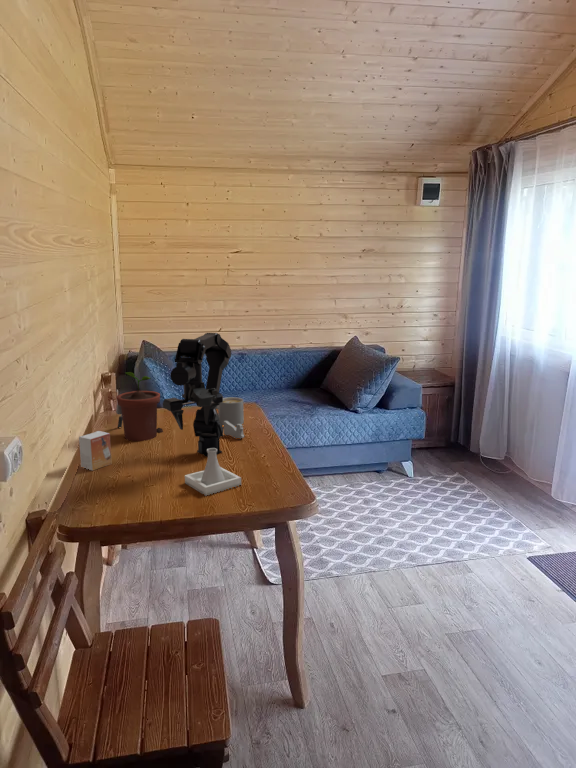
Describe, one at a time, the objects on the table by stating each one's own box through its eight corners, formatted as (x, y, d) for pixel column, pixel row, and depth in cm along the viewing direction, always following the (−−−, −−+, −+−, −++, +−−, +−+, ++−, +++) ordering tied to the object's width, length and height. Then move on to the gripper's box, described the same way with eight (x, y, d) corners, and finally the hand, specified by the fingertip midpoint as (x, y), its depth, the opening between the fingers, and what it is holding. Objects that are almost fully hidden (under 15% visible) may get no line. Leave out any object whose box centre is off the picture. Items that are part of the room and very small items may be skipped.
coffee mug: (244, 420, 233) (243, 397, 231) (243, 427, 223) (242, 403, 221) (212, 420, 232) (211, 397, 230) (209, 427, 223) (208, 403, 221)
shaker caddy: (219, 473, 174) (219, 466, 173) (241, 485, 165) (241, 477, 164) (185, 483, 166) (184, 475, 166) (205, 496, 157) (205, 487, 157)
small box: (92, 471, 176) (89, 439, 174) (80, 468, 179) (78, 436, 177) (112, 463, 183) (110, 432, 180) (100, 460, 186) (98, 430, 183)
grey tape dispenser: (226, 434, 214) (245, 439, 208) (224, 435, 213) (242, 440, 207) (226, 420, 213) (245, 424, 206) (223, 421, 212) (242, 425, 205)
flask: (204, 488, 161) (203, 455, 159) (197, 479, 167) (196, 447, 165) (228, 484, 164) (227, 451, 162) (220, 475, 170) (220, 444, 168)
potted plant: (112, 444, 202) (107, 376, 197) (117, 427, 223) (113, 365, 217) (162, 441, 206) (159, 374, 200) (163, 425, 226) (160, 364, 221)
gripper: (178, 387, 163) (180, 438, 166) (232, 379, 174) (233, 427, 178) (160, 381, 171) (163, 430, 175) (213, 373, 183) (214, 419, 186)
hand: (194, 426), depth 178 cm, fingers open, 9 cm apart
